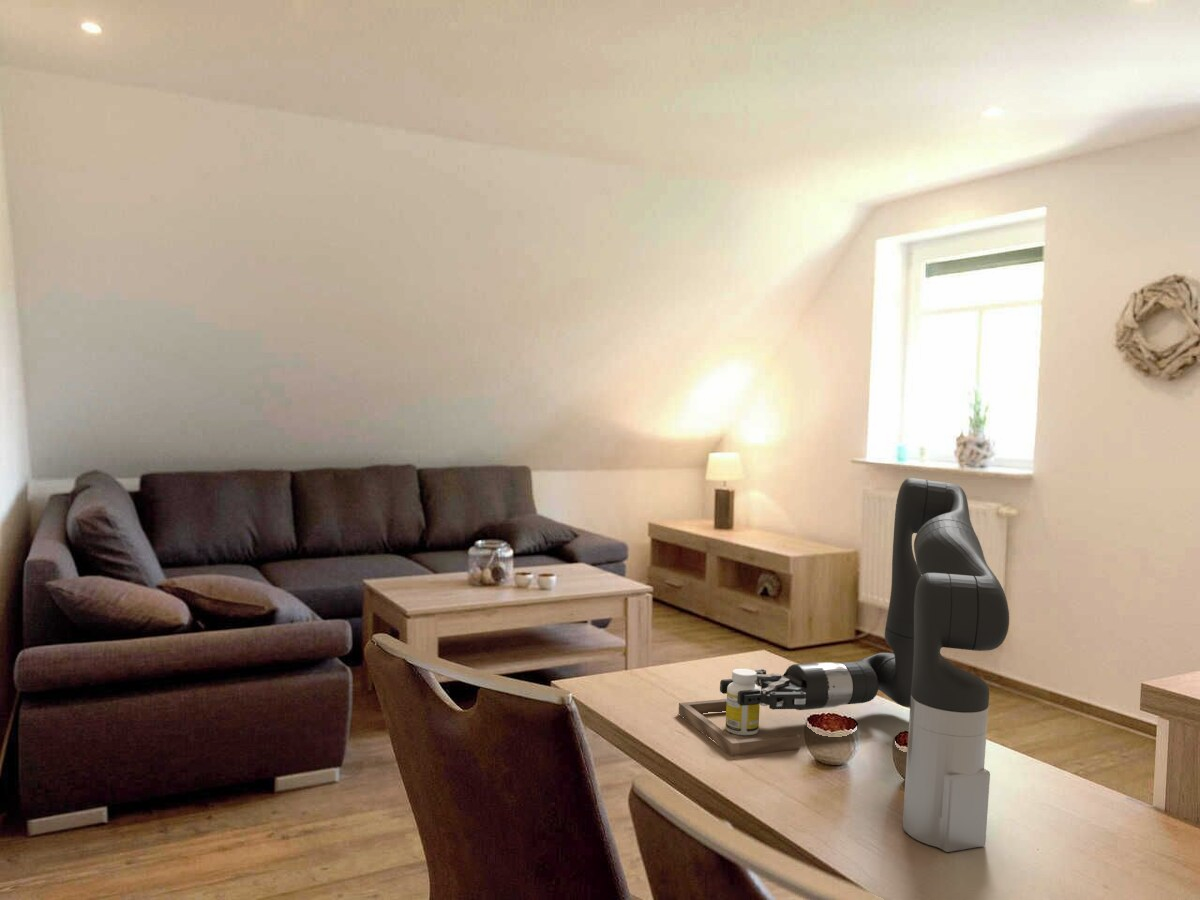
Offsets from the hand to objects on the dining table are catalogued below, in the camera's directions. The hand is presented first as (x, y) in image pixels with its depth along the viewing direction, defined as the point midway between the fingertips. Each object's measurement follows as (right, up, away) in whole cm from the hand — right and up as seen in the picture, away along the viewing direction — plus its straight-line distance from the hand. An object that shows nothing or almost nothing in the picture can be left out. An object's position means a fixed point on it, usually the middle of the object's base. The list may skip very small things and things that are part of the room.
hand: (730, 692), depth 150 cm
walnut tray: (+1, -7, +1) cm, 7 cm away
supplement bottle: (+2, -7, +1) cm, 7 cm away
